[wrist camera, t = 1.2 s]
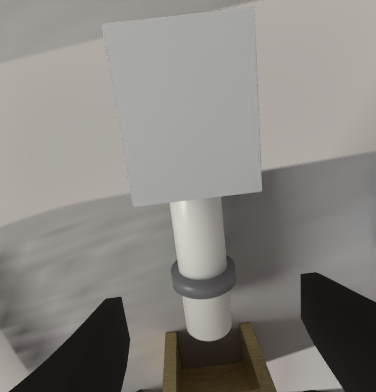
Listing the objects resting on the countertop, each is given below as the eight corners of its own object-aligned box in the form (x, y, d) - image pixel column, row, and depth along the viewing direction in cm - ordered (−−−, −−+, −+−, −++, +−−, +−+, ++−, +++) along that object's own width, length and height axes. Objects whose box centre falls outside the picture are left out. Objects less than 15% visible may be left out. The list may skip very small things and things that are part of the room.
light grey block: (127, 60, 17) (101, 23, 11) (226, 48, 17) (254, 6, 11) (146, 181, 19) (133, 207, 13) (235, 171, 19) (262, 191, 13)
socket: (165, 333, 22) (161, 413, 16) (250, 322, 22) (278, 398, 16) (172, 378, 24) (171, 470, 17) (253, 368, 24) (281, 455, 17)
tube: (143, 54, 16) (131, 30, 12) (211, 46, 16) (223, 19, 12) (179, 307, 21) (179, 351, 17) (232, 300, 21) (246, 342, 17)
